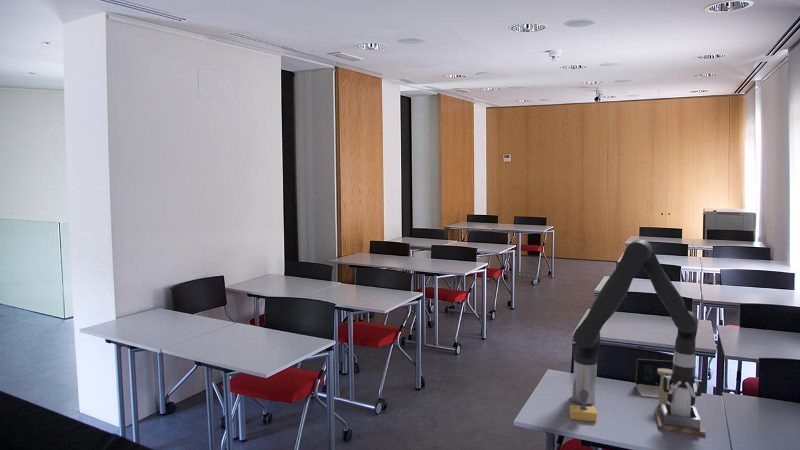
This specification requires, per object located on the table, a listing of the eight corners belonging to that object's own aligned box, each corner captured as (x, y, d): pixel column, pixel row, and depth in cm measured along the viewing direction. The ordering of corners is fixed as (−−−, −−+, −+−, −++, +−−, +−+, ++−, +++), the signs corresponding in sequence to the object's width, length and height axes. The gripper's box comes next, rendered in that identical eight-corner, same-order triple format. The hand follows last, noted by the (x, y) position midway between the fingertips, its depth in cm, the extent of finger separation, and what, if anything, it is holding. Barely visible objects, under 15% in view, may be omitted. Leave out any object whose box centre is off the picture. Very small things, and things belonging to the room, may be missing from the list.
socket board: (659, 429, 222) (660, 415, 221) (655, 412, 236) (656, 399, 235) (705, 436, 217) (706, 422, 216) (698, 418, 231) (699, 405, 230)
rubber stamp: (594, 415, 233) (596, 387, 231) (596, 422, 227) (598, 393, 226) (569, 413, 235) (570, 384, 233) (570, 419, 229) (571, 390, 228)
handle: (672, 408, 240) (675, 373, 239) (655, 406, 242) (658, 371, 240) (670, 403, 245) (673, 369, 243) (654, 401, 247) (656, 367, 245)
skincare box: (690, 418, 224) (693, 388, 223) (682, 420, 222) (685, 390, 221) (677, 411, 230) (679, 382, 228) (669, 413, 228) (671, 384, 226)
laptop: (641, 397, 251) (643, 368, 250) (635, 386, 264) (636, 358, 262) (685, 401, 248) (688, 371, 247) (677, 389, 260) (679, 361, 259)
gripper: (664, 364, 222) (661, 405, 224) (706, 368, 217) (702, 410, 220) (662, 357, 229) (659, 397, 231) (702, 362, 225) (699, 402, 227)
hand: (680, 403), depth 225 cm, fingers closed on skincare box, 7 cm apart
